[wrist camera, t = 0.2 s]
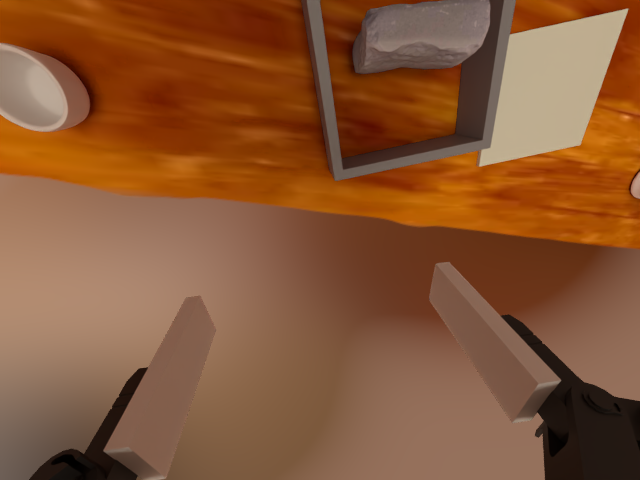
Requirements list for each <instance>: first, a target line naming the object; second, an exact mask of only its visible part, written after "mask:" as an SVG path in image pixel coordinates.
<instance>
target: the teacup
mask: <svg viewBox="0 0 640 480" xmlns="http://www.w3.org/2000/svg"><path fill="white" fill-rule="evenodd" d="M89 110H90V99H89V95H88V93H87V90H86V88H85V86H84V85H83V83H82V82H81V80H80V79H79V78H78V77H77V76H76V74H75V73H74V72H73V71H71V70H70V69H69V68H68V67H67V66H65V65H64V64H63V63H61V62H60V61H58V60H56V59H55V58H53V57H50V56H48V55H45V54H41V53H38V52H35V51H32V50H29V49H26V48H22V47H19V46H15V45H12V44H7V43H0V114H1V115H2V116H3V117H5V118H6V119H8V120H10V121H11V122H13V123H15V124H17V125H19V126H22V127H24V128H27V129H30V130H35V131H42V132H53V131H59V130H63V129H67V128H70V127H73V126H75V125H77V124H79V123H80V122H82V121H83V120H84V119H85V118H86V117H87V115H88V113H89Z"/></svg>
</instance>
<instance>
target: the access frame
mask: <svg viewBox="0 0 640 480" xmlns="http://www.w3.org/2000/svg"><path fill="white" fill-rule="evenodd" d="M515 1H516V0H489V2H490V25H489V28H488V32H487V34H486V37H485V39H484V41H483V44H482V46H481V47H480V48H479V49H478V50H477V51H476V52H475V53H474V54H472V55H471V56H470V57H468V58H467V59H466V60H464V61H463V62H462V70H461V80H460V91H459V101H458V111H457V122H456V132H455V134H454V135H449V136H444V137H440V138H435V139H430V140H426V141H421V142H416V143H412V144H407V145H402V146H398V147H393V148H388V149H384V150H379V151H375V152H370V153H365V154H361V155H356V156H351V157H347V158H342V159H341V152H340V145H339V137H338V130H337V123H336V116H335V108H334V101H333V94H332V86H331V79H330V72H329V64H328V57H327V50H326V43H325V35H324V28H323V21H322V13H321V6H320V0H301V2H302V8H303V14H304V20H305V26H306V32H307V38H308V44H309V50H310V56H311V62H312V68H313V74H314V80H315V86H316V92H317V98H318V104H319V110H320V116H321V122H322V128H323V134H324V140H325V147H326V153H327V159H328V165H329V170H330V172H331V174H332V176H333V178H334V180H335V181H338V180H343V179H347V178H352V177H357V176H361V175H366V174H371V173H375V172H380V171H385V170H389V169H394V168H399V167H403V166H408V165H413V164H417V163H422V162H427V161H431V160H436V159H441V158H446V157H450V156H455V155H460V154H464V153H469V152H474V151H478V150H483V149H488V148H490V147H491V141H492V135H493V130H494V124H495V118H496V112H497V106H498V100H499V95H500V89H501V83H502V77H503V71H504V65H505V59H506V54H507V48H508V42H509V36H510V30H511V24H512V18H513V13H514V7H515Z"/></svg>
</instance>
